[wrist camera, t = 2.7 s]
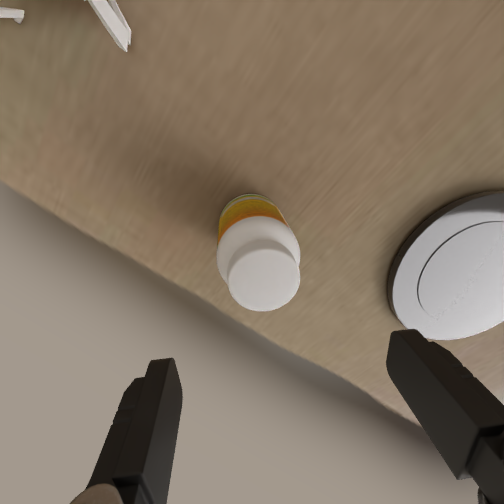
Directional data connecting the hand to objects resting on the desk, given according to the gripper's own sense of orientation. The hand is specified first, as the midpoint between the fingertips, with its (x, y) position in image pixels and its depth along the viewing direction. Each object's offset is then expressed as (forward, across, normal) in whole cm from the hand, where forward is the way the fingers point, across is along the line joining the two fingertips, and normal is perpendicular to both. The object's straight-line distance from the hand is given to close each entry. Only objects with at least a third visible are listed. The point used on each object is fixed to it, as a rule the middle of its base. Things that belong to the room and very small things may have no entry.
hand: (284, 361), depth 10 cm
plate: (+15, -21, +7) cm, 27 cm away
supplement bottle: (+15, 0, 0) cm, 15 cm away
